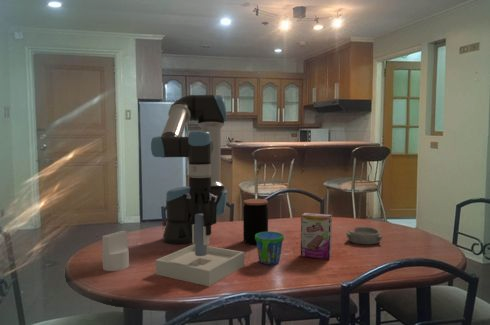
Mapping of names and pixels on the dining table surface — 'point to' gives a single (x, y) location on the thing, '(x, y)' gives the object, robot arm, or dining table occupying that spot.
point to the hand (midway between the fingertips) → (201, 243)
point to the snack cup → (269, 247)
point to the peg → (199, 236)
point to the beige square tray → (200, 265)
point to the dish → (364, 235)
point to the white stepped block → (115, 251)
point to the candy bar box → (316, 235)
